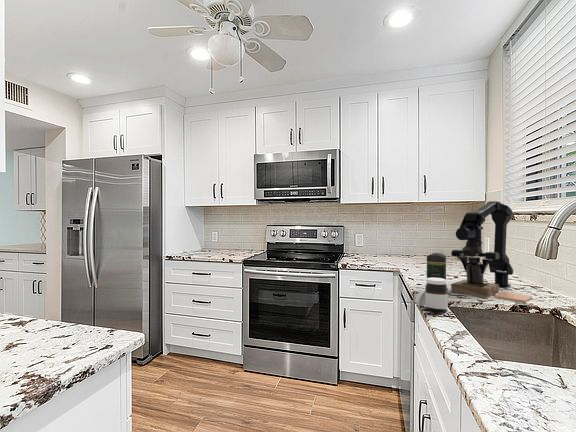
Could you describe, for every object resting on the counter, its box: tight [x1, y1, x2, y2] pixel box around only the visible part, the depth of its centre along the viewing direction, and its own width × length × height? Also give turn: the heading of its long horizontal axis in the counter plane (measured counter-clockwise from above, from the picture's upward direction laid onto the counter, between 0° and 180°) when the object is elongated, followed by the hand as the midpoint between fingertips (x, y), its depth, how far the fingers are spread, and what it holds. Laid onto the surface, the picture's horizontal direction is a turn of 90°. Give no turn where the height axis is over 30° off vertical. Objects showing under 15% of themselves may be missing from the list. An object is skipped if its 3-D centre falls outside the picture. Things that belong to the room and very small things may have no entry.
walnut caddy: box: [450, 279, 500, 298], centre depth 148 cm, size 15×15×4 cm
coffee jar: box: [426, 252, 447, 280], centre depth 145 cm, size 10×8×19 cm
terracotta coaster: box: [493, 291, 533, 303], centre depth 137 cm, size 11×11×1 cm
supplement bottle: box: [465, 256, 485, 284], centre depth 148 cm, size 7×7×12 cm
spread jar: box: [415, 277, 449, 314], centre depth 122 cm, size 12×11×12 cm
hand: (474, 272), depth 148 cm, fingers closed on supplement bottle, 7 cm apart
